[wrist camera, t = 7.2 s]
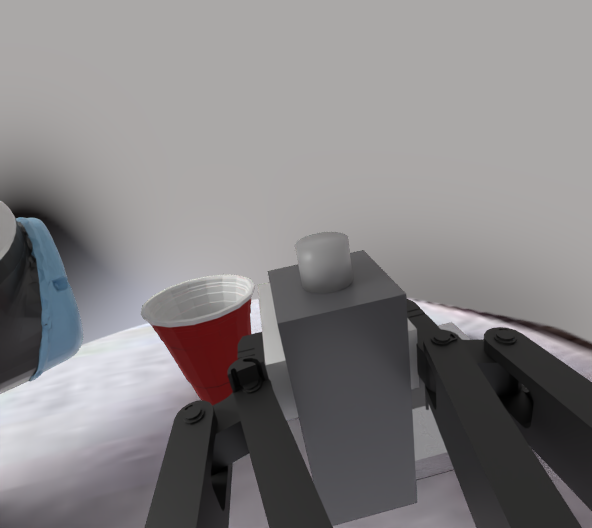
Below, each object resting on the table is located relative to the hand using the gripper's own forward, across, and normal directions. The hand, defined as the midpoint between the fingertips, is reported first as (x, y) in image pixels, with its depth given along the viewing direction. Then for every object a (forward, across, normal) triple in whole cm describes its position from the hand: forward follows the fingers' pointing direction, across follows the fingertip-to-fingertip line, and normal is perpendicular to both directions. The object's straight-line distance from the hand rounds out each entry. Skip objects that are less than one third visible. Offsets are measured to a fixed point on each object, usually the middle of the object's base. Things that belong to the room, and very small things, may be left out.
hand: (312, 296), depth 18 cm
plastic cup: (+15, -9, -17) cm, 24 cm away
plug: (-5, 0, -6) cm, 8 cm away
